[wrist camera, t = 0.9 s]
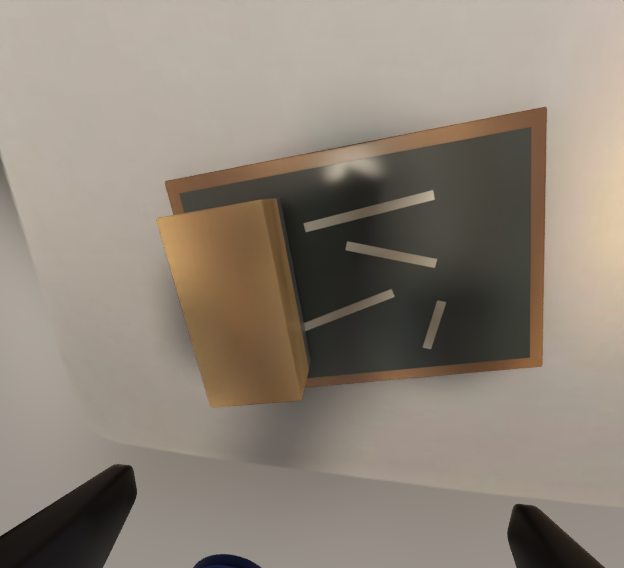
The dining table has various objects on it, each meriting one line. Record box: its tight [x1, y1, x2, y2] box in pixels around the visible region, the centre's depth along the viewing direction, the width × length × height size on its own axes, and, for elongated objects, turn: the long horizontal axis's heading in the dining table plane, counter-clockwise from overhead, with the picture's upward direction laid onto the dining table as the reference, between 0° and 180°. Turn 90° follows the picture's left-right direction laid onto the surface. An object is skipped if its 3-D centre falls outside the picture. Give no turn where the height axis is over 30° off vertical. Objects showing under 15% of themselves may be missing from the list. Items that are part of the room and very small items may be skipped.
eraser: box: [156, 198, 311, 407], centre depth 17 cm, size 5×10×4 cm, turn 9°
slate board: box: [165, 107, 547, 387], centre depth 19 cm, size 20×14×1 cm
